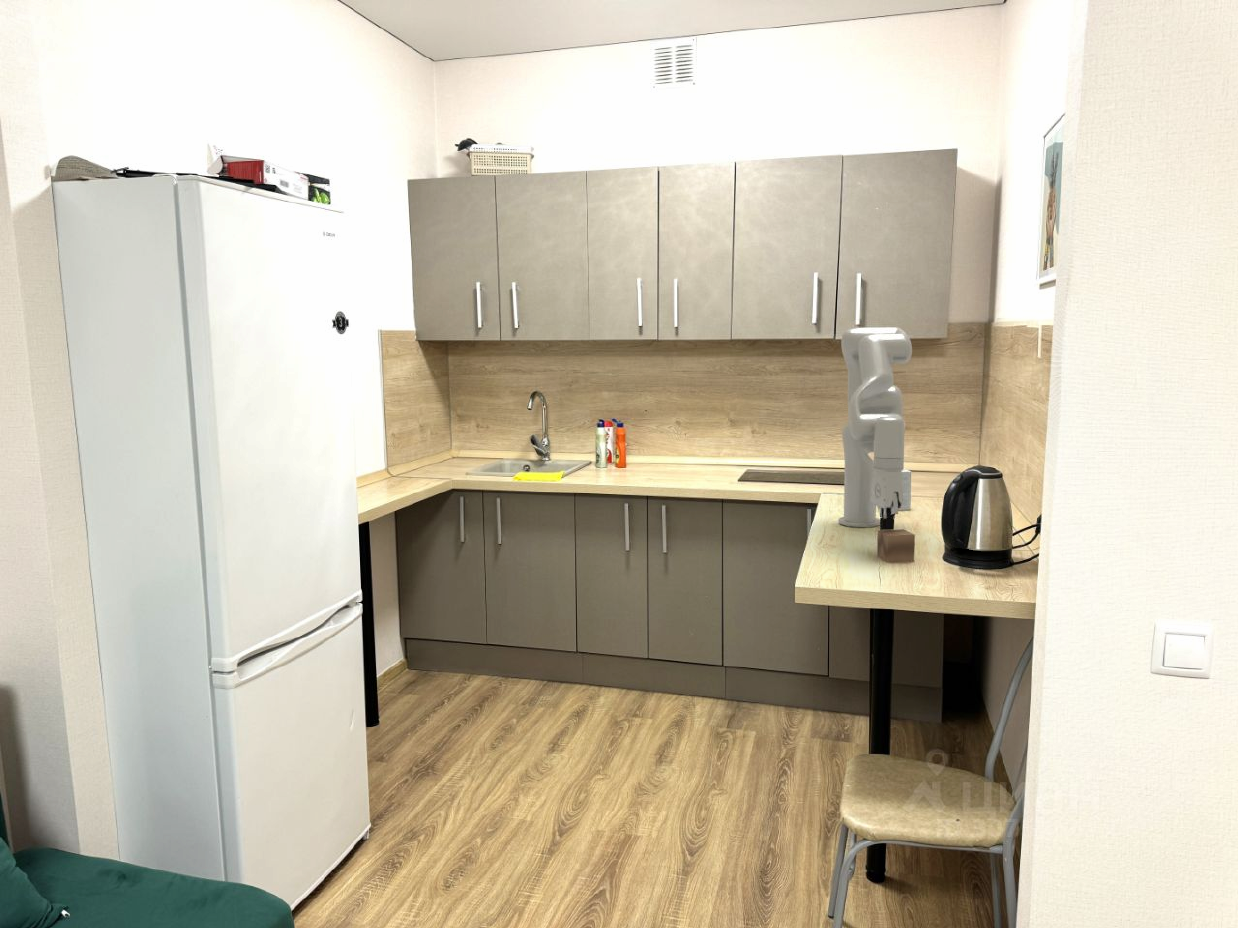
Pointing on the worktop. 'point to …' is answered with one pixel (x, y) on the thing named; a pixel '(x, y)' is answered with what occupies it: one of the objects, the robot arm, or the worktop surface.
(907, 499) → the small box
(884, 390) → the robot arm
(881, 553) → the walnut block
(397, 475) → the worktop surface
